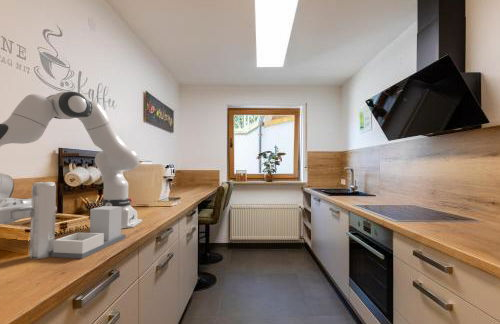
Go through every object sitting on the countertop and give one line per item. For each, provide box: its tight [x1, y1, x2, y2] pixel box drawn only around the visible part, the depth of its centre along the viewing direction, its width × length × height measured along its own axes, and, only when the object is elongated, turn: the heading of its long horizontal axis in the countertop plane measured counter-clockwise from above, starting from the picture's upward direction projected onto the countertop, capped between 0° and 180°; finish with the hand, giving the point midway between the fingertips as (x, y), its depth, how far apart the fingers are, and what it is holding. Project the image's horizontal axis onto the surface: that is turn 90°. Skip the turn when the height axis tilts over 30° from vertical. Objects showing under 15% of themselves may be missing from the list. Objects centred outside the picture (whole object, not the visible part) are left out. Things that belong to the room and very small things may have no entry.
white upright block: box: [29, 181, 57, 260], centre depth 86 cm, size 6×6×25 cm
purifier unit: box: [51, 205, 127, 260], centre depth 97 cm, size 24×11×14 cm, turn 174°
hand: (43, 211), depth 86 cm, fingers open, 8 cm apart
